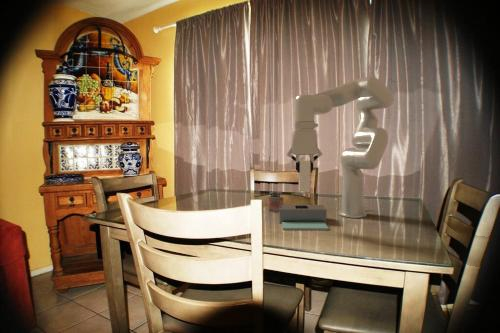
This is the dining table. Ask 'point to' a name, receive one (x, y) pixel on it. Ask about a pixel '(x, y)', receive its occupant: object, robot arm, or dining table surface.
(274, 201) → the lighter
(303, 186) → the peg
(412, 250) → the dining table surface
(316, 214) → the rail
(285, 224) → the mat
